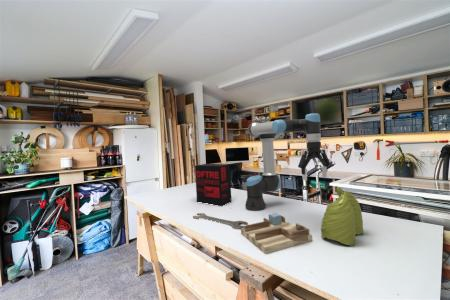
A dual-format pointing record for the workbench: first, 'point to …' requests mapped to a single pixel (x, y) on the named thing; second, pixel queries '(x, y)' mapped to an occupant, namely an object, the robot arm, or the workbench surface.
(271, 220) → the block
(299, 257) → the workbench surface
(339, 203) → the lungs
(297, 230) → the tan flat ridged piece
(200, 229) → the workbench surface
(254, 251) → the workbench surface
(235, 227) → the wrench
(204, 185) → the product box
